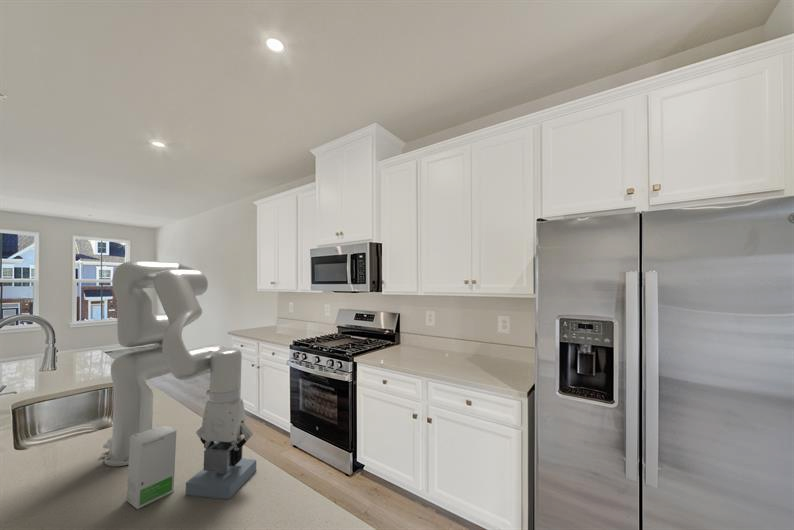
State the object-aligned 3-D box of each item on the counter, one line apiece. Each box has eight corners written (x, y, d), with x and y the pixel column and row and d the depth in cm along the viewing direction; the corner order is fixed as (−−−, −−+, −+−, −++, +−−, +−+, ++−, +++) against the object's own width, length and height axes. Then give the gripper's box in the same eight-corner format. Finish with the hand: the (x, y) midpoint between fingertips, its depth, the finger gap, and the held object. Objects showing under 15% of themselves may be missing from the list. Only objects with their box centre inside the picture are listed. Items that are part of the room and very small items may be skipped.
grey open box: (203, 470, 84) (204, 451, 84) (220, 456, 91) (220, 438, 91) (227, 472, 83) (227, 452, 84) (242, 458, 90) (242, 440, 90)
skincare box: (136, 511, 76) (138, 443, 76) (124, 500, 79) (127, 436, 80) (175, 491, 83) (177, 429, 84) (163, 482, 87) (165, 423, 87)
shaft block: (185, 494, 82) (186, 464, 82) (217, 467, 94) (218, 441, 94) (229, 499, 80) (230, 468, 80) (256, 470, 92) (256, 444, 92)
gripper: (185, 398, 85) (183, 467, 84) (247, 402, 83) (245, 473, 82) (205, 388, 93) (204, 452, 92) (262, 391, 90) (261, 457, 90)
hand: (223, 461), depth 87 cm, fingers closed on grey open box, 6 cm apart
